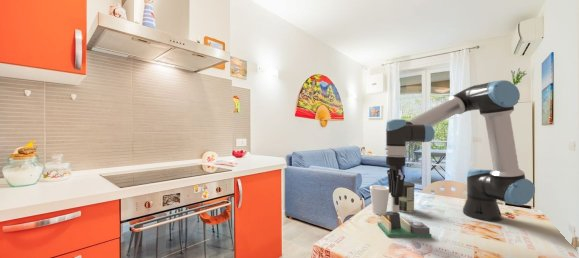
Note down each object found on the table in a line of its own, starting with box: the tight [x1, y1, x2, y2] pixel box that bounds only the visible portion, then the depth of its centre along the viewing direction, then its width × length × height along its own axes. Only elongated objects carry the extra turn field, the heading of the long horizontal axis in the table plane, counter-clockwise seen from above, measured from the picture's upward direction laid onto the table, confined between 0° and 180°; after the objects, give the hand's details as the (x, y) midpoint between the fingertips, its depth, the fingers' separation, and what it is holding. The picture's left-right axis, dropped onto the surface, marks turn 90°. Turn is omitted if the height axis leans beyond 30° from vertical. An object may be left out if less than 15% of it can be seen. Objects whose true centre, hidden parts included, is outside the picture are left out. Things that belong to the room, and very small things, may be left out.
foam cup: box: [369, 184, 390, 216], centre depth 126 cm, size 10×9×13 cm
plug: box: [385, 210, 401, 229], centre depth 104 cm, size 4×4×6 cm
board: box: [377, 215, 432, 238], centre depth 103 cm, size 17×12×5 cm
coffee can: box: [399, 180, 416, 214], centre depth 131 cm, size 10×10×14 cm
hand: (395, 211), depth 104 cm, fingers closed
